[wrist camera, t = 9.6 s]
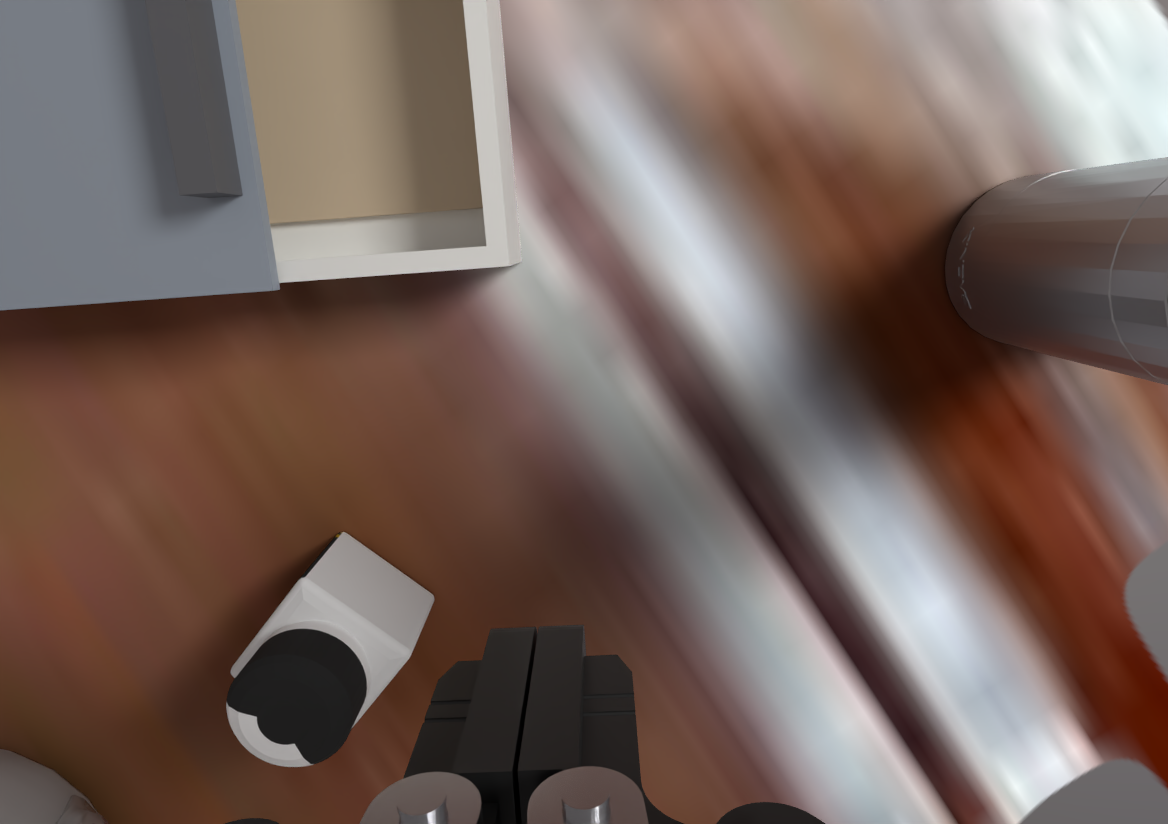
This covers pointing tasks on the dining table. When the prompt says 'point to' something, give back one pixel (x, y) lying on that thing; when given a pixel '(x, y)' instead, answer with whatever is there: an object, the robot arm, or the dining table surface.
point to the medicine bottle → (325, 655)
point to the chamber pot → (40, 795)
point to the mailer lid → (127, 154)
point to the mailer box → (382, 135)
